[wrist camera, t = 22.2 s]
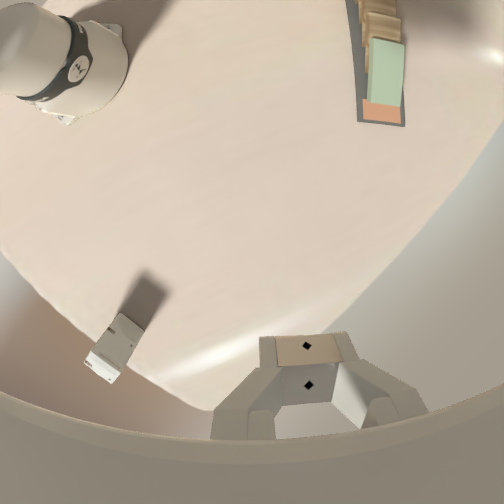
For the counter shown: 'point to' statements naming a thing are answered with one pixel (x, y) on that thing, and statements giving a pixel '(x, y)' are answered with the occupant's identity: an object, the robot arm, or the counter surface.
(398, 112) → the charcoal mat
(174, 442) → the robot arm
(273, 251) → the counter surface
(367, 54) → the maple domino
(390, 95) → the sage domino
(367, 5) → the maple domino
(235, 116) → the counter surface
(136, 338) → the skincare box
